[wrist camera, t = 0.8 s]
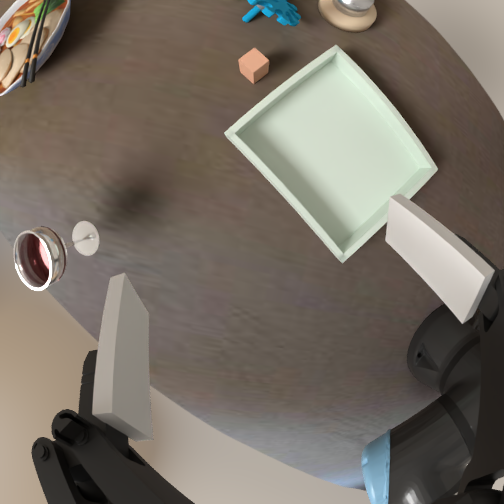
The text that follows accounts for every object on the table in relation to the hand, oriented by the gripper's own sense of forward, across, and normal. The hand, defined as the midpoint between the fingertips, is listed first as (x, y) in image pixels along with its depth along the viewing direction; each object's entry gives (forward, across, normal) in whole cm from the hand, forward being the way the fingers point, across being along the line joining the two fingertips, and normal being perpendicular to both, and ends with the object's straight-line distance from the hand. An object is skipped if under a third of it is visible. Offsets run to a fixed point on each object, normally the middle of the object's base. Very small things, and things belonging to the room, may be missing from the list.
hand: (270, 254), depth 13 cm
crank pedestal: (+27, -22, -16) cm, 38 cm away
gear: (+29, -12, -16) cm, 36 cm away
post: (+26, -7, -7) cm, 28 cm away
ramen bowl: (+40, +24, -26) cm, 53 cm away
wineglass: (+25, +21, +8) cm, 33 cm away
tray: (+20, -14, +3) cm, 25 cm away
